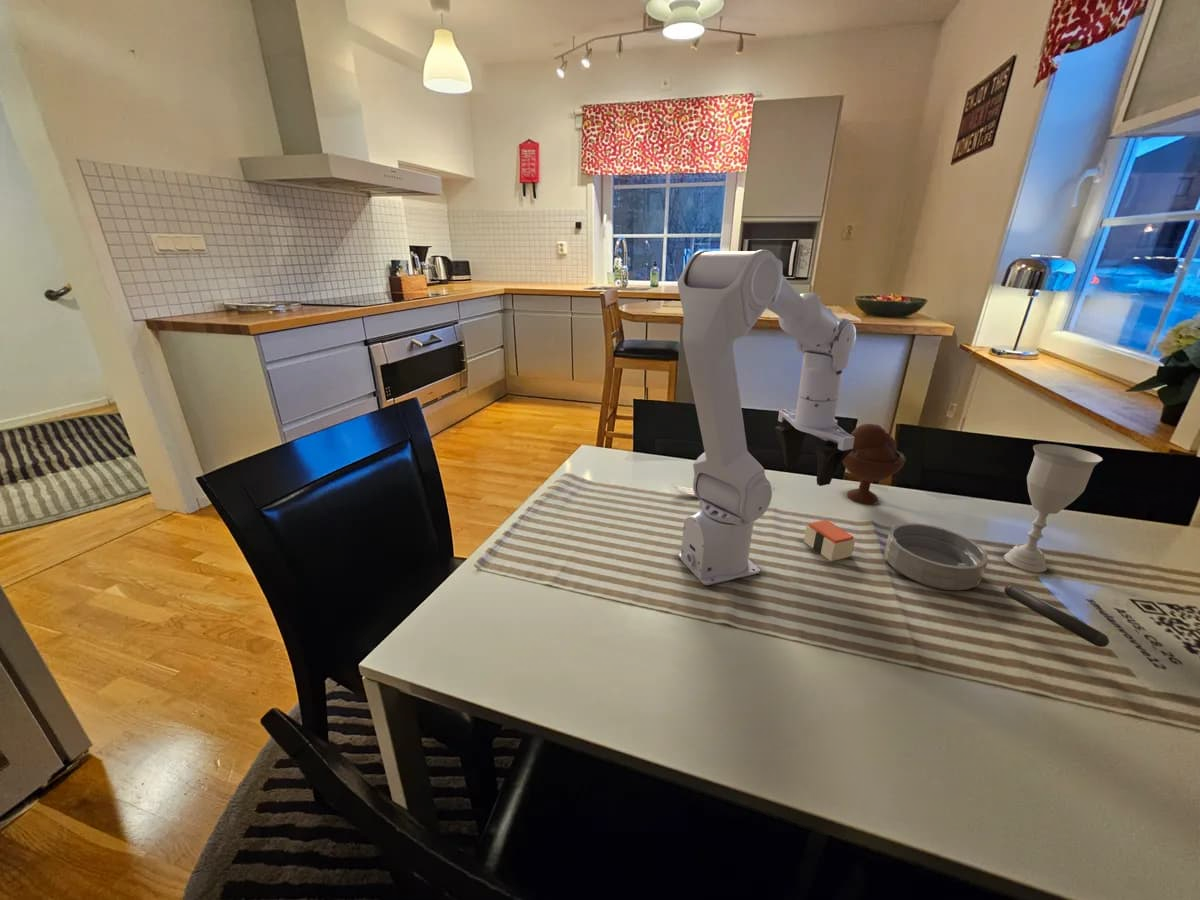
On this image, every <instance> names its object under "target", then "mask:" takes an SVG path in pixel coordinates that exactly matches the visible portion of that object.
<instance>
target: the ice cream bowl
mask: <svg viewBox="0 0 1200 900" xmlns="http://www.w3.org/2000/svg"><path fill="white" fill-rule="evenodd" d="M850 435H852V436H854V437H855V439H854V444H853V450H852V451H851V452H850V453H849V454H848V455H847V456H846V457H845V459H844V460H843V461H842V464H843V467H845V469H846V470H847V471H848V472H849V473H850V474H851V475H853V476H854V477H856V478H858V479H859V481H860V482H859V486H858V487H857V488H854V489H853V488H852V489H850V490H848V491H847V492H846V498H847V499H849V500H850V501H852V502H854V503H858V504H862V505H875V504H877V503H878V502H879V498H878V496H877V495H876V494H875V493H874V492H872V491H871V490H870V488H871V484H872V482H878V481H881V480H882V481H883V480H885V479H888V478H889V477H891V476H893V475H895V474H897V473H899V472H900V471H901V469H903V467H904V465H905V464H906V462H907V458H906V456H905V455H904V453H903V452H901V451H899V450H897V441H896V440H895V439H894V437H893V436H891V435H890V433H889V432H887V431H886V429H884V428H883V427H882V426H881V425H879V424H874V423H864V424H860V425H859V426H857V427H855V428H854V430H852V432H851V433H850Z"/></svg>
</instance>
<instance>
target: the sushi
mask: <svg viewBox="0 0 1200 900" xmlns="http://www.w3.org/2000/svg"><path fill="white" fill-rule="evenodd" d="M854 537H855V536H853V535H852V534H850V533H849V532H847V531H846V530H844V529H842V528H841V527H839V526H838V525H835V524H834V523H833V522H831V521H830V520H828V519H823V520H818V521H813V522H809V523H808V525H805V532H804V538H803V543H805V544H806V545H808V546H809V547H810V548H812V550H814V551H815V552H816V553H818V554H819V555H822V556H823V557H824V558H826V559H827V560H829V561H830V562H835V561H838V560H843V559H847V558H851V557H852V556H853V551H854V548H855V547H854V546H855V542H856V539H854Z"/></svg>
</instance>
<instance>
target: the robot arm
mask: <svg viewBox="0 0 1200 900" xmlns="http://www.w3.org/2000/svg"><path fill="white" fill-rule="evenodd" d="M677 288H678V293H679V299H680V305H681V309H682V313H683V324H682V344H683V349H684V356H685V360H686V365H687V369H688V374H689V380H690V384H691V385H690V386H691V390H692V395H693V400H694V405H695V410H696V414H697V415H696V416H697V420H698V425H699V430H700V435H701V441H702V445H703V450H704V452H703V453H701V454H700V455H699V456H698V457H697V459H696V460H694V462H693V464H692V467H693V472H694V474H693V481H692V488H693V491H694V494H695V495H696V496H695V498H697V499H699V504H698V506H699V507H700V508H701V509H700V510H699V511H698V512H697V513H695V514H692V515H689V516H688V517H686V518H685V519H684V522H683V528H682V540H681V551H680V553H678V558H679V559H680V561H682V563H683V564H684V565H685V566H686V567H687V569H689V570H690V571H691V572H692V574H694V576H695V577H696V578H697V579H698V580H699V582H700V583H702V584H703V586H710V585H714V584H719V583H723V582H727V581H733V580H736V579H741V578H744V577H748V576H752V575H757V574H760V573H761V568H759V567H758V566H757V565H756V564H755V563H754V562H753V561H751V560H750V559H749V558H750V553H751V552H750V550H751V544H752V536H753V530H754V522H755V521H757V520H759V519H760V518H761V517H762V516H763V515H764V514H765V513H766V512H767V510H768V509H769V506H770V504H771V501H772V496H773V492H772V491H773V490H772V484H771V483H770V481H769V479H768V478H767V477H766V472H765V467H764V466H762V464H761V463H760V462H759V461H758V460H757V459H756V458H755V457H754V456H753V455H752V454H751V453H750V452H749V451H748V445H747V437H746V431H745V424H744V423H745V422H744V417H743V409H742V402H741V395H740V388H739V382H738V381H739V380H738V375H737V373H738V372H737V367H736V360H735V353H734V343H735V342H736V340H738V339H741V338H743V337H746V336H747V335H748V333H749V332H750V331H751V329H752V328H753V327H754V326H755V324H756V323H757V321H758V320H759V319H760V317H761V316H762V315H763V314H764V312H765V311H766V310H769V311H770V312H772V313H774V314H775V315H777V316H778V325H779V327H780V329H781V330H782V331H783V332H784V333H786V334H787V335H789V336H790V337H791V338H792V339H794V340H795V341H796V347H797V350H798V352H799V353H802V354H803V355H802V356H803V357H802V363H801V372H800V379H799V387H798V395H797V404H796V410H793V409H791V408H785V409H779V410H778V419H777V421H778V422H780V423H781V425H776V426H775V429H774V431H775V433H776V435H777V437H778V439H779V442H780V445H781V449H782V453H783V454H782V455H783V461H784V467H787V468H791V467H796V466H798V464H799V462H800V457H801V451H802V446H803V444H804V442H805V438H806V435H807V434H810V435H812V436H815V437H816V438H819V439H821V440H824V441H826V443H821V444H816V445H814V450H815V454H816V461H817V471H816V485H818V486H819V487H822V486H827V485H830V484H831V483H832V481H833V478H834V476H835V474H836V471H837V470H838V468H839V467H840V465H841V464H842V463H843V460H844V459H845V457H846V456H847V455H848V454H849V453H850V452H851V451H852V450H853V444H854V439H855V437H854V436H852V435H851V433H848V432H847V431H845V430H844V429H843V428H842V427H841V426H839V425H838V419H836V413H837V407H838V400H839V394H840V390H841V382H842V377H843V371H844V370H845V369H847V365H849V360H850V359H849V358H850V355H851V353H852V351H853V350H854V348H855V344H856V341H857V329H856V326H855V324H854V323H853V322H851V320H850V319H848V318H843V317H837V315H836V314H835V313H834V310H833V309H831V307H827V306H826V305H825V304H824V303H823V302H822V301H821V300H820V299H821V296H820V295H819V294H818V293H817V292H806V293H805V292H803V293H799V292H798V291H797V289H796V288H795V287H794V286H793V285H792V284H791V282H790V281H789V280H788V279H787V278H786V277H785V275H784V274H783V261H782V260H780V259H779V258H777V257H776V256H775V254H774V253H773V252H772V251H770V250H768V249H757V250H756V251H755V250H753V251H751V250H750V251H748V250H747V251H746V250H745V251H744V250H742V251H741V250H740V251H712V250H711V251H710V250H705V249H704V250H698V251H696V252H695V253H693V254H692V255H691V256H690V257H689V259H688V260H687V261H686V264H685V265H684V268H683V270H682V272H681V274H680V276H679V278H678V280H677Z"/></svg>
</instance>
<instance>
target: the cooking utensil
mask: <svg viewBox="0 0 1200 900" xmlns="http://www.w3.org/2000/svg"><path fill="white" fill-rule="evenodd" d="M671 486H673V488H675V490H677V492H680V493H682V494H684V495H685V496H686V495H687V496H690V497H696V495H695V494H694V491H693V487H685V486H680V485H676V484H673V483H671Z"/></svg>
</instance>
